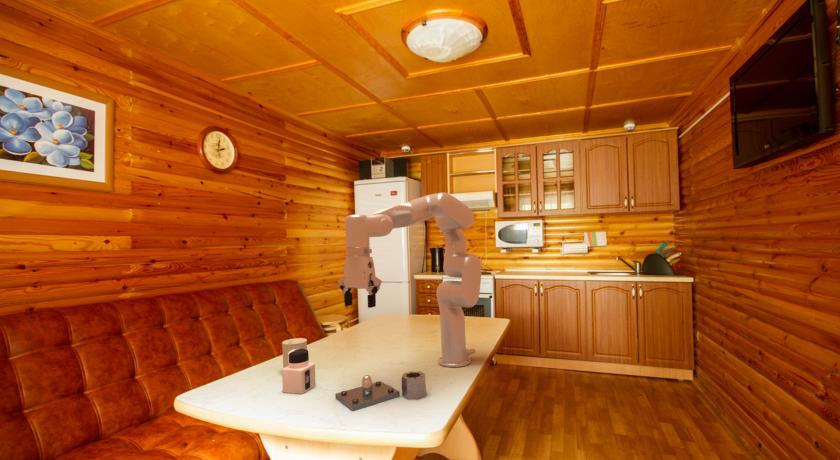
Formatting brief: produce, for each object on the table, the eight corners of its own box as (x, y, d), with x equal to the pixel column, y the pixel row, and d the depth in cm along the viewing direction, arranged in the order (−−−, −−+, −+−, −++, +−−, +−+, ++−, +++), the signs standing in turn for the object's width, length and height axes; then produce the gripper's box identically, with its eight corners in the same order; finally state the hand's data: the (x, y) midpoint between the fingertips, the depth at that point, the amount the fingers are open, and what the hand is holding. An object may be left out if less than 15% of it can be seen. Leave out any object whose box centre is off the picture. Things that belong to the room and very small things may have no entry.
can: (277, 374, 146) (276, 342, 146) (294, 366, 155) (293, 336, 155) (297, 376, 143) (296, 343, 143) (313, 368, 151) (311, 337, 152)
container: (316, 385, 132) (314, 347, 132) (302, 394, 125) (300, 353, 125) (297, 384, 134) (295, 346, 135) (282, 392, 127) (281, 352, 127)
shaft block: (380, 385, 129) (379, 365, 129) (399, 396, 119) (398, 374, 120) (335, 398, 120) (334, 376, 120) (352, 411, 110) (351, 387, 110)
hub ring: (417, 388, 125) (416, 370, 125) (430, 395, 119) (429, 375, 119) (398, 394, 121) (397, 375, 121) (411, 401, 115) (410, 380, 115)
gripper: (386, 251, 123) (388, 305, 123) (346, 253, 132) (347, 303, 132) (371, 252, 117) (373, 309, 116) (330, 254, 126) (331, 306, 125)
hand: (360, 306), depth 124 cm, fingers open, 9 cm apart
